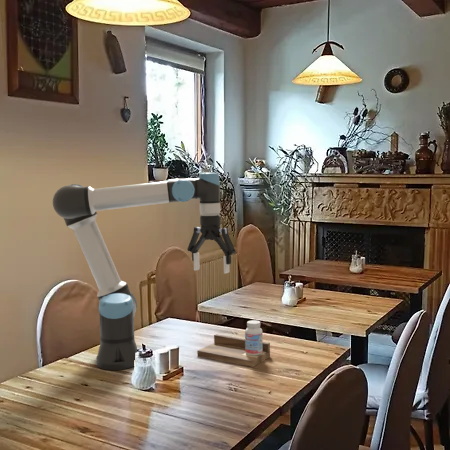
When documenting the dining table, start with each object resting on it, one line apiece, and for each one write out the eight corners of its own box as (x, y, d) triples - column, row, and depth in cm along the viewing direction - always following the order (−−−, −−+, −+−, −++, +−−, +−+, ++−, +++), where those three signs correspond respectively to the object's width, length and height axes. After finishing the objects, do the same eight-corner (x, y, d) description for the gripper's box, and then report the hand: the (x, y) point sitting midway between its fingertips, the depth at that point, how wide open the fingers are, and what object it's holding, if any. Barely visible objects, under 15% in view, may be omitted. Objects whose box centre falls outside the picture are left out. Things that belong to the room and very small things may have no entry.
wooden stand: (252, 366, 199) (252, 352, 198) (197, 356, 211) (197, 342, 211) (270, 356, 209) (269, 343, 208) (216, 347, 221) (216, 334, 221)
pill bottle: (242, 354, 205) (241, 323, 204) (250, 349, 210) (249, 319, 209) (258, 357, 202) (257, 325, 201) (265, 352, 208) (265, 320, 207)
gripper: (244, 214, 213) (245, 272, 215) (189, 213, 227) (190, 267, 229) (232, 216, 207) (234, 275, 209) (177, 214, 221) (178, 270, 223)
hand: (211, 271), depth 219 cm, fingers open, 13 cm apart
